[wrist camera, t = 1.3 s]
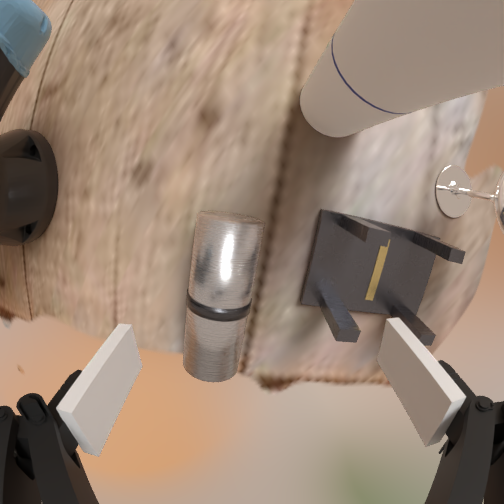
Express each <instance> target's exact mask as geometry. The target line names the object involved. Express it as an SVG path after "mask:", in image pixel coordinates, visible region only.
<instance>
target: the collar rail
mask: <svg viewBox="0 0 504 504" xmlns="http://www.w3.org/2000/svg"><path fill="white" fill-rule="evenodd" d="M436 255H438V256H440V257H442V258H444V259H446V260H448V261H452V262H456V263H460V264H462V262H463V259H464V255H465V251H463V250H461V249H459V248H456V247H454V246H452V245H449V244H447V243H445V242H443V241H440V238H438V237H436V236H432V235H429V234H425V233H421V232H418V231H414V230H410V229H406V228H402V227H398V226H394V225H390V224H386V223H382V222H378V221H374V220H370V219H365V218H361V217H357V216H352V215H348V214H343V213H339V212H334V211H329V210H324V209H321V212H320V217H319V221H318V226H317V231H316V235H315V240H314V244H313V249H312V253H311V258H310V262H309V266H308V270H307V275H306V279H305V283H304V287H303V291H302V295H301V299H300V301H301V304H306V305H313V306H320V308H321V310H322V312H323V314H324V316H325V319H326V321H327V323H328V325H329V327H330V329H331V331H332V334H333V336H334V338H335V340H336V341H342V342H357V340H358V337H359V334H360V332H361V330H360V329H359V327H358V326H357V324H356V323H355V321H354V319H353V318H352V316H351V315H350V313H349V312H348V310H353V311H362V312H371V313H380V314H390V315H391V316H392V317H393V318H398V317H399V318H400V319H401V321H402V322H403V323H404V324H405V325H406V326H407V327H408V328H409V329H410V330H411V332H412V333H413V334H414V335H415V336H416V337H417V338H418V339H419V341H420V342H421V343H422V344H423V345H430V346H431V345H432V342H433V340H434V338H435V336H436V335H435V334H434V333H433V332H432V331H431V330H430V329H429V328H428V327H427V326H426V325H425V324H424V323H423V322H422V321H421V320H420V319H419V318H418V317H417V316H416V313H417V311H418V308H419V306H420V303H421V300H422V297H423V294H424V291H425V289H426V286H427V283H428V279H429V276H430V273H431V270H432V267H433V263H434V260H435V256H436Z"/></svg>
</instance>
